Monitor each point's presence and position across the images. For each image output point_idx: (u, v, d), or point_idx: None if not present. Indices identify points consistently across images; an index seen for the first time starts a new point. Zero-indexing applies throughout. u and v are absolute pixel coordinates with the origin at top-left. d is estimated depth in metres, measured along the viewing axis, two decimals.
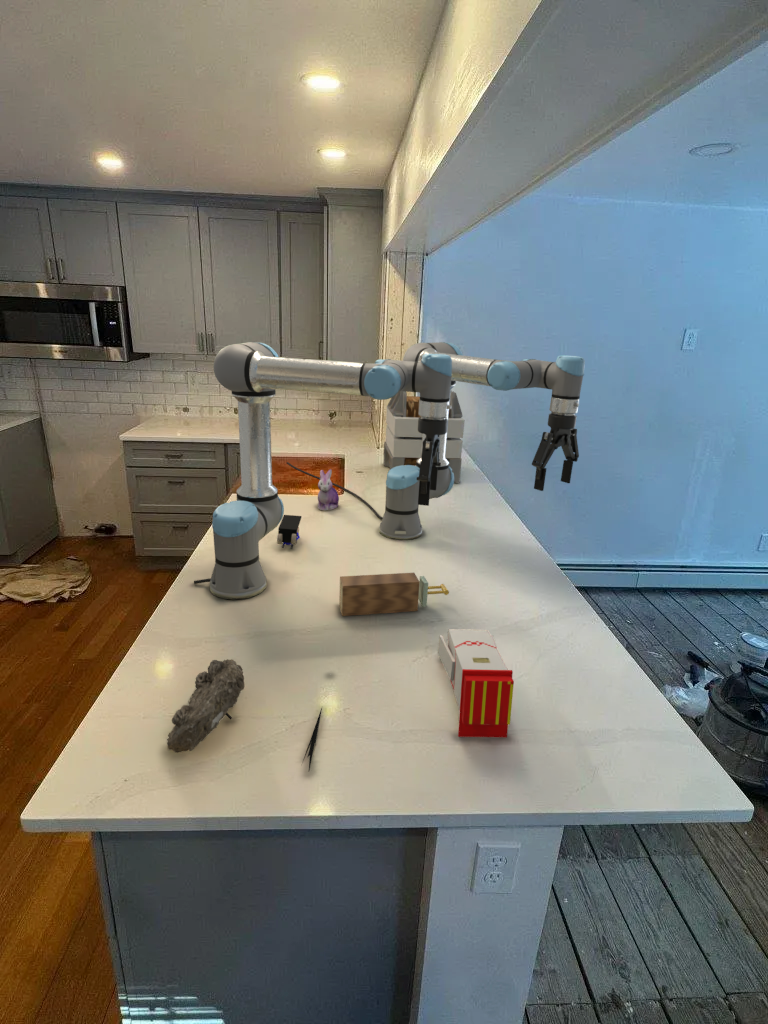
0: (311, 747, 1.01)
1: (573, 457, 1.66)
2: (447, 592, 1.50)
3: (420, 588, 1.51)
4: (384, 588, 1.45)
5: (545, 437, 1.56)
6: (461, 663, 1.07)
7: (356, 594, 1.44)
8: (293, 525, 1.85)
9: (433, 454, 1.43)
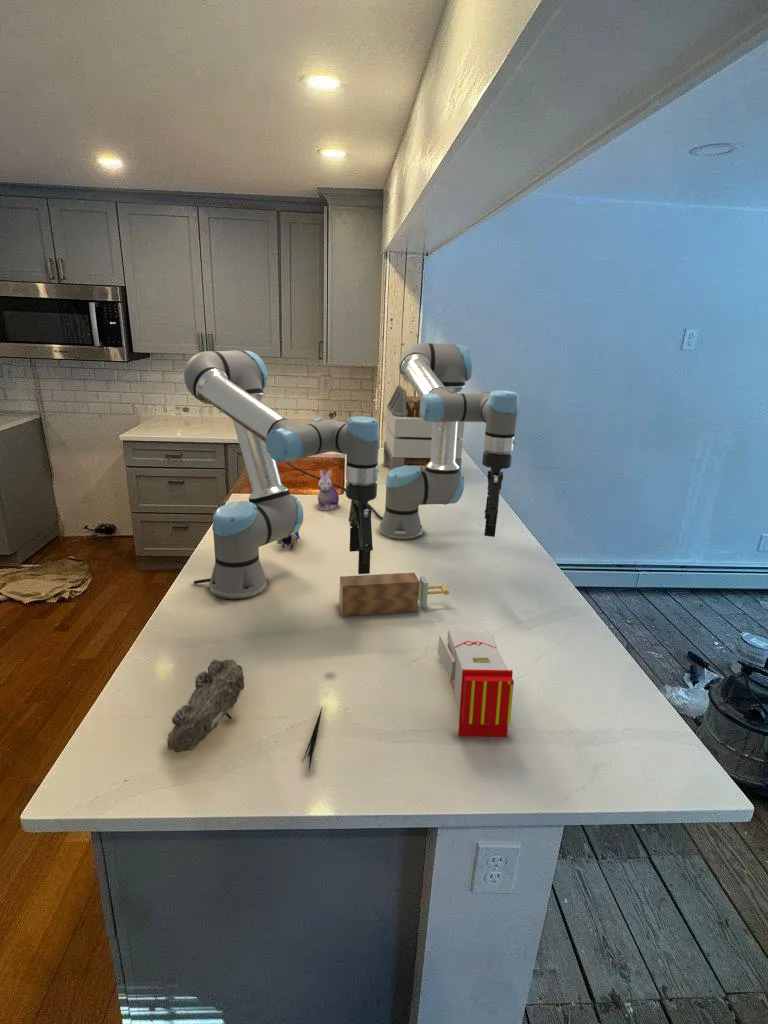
0: (311, 747, 1.01)
1: None
2: (447, 592, 1.50)
3: (420, 588, 1.51)
4: (384, 588, 1.45)
5: (495, 481, 1.44)
6: (461, 663, 1.07)
7: (356, 594, 1.44)
8: None
9: None
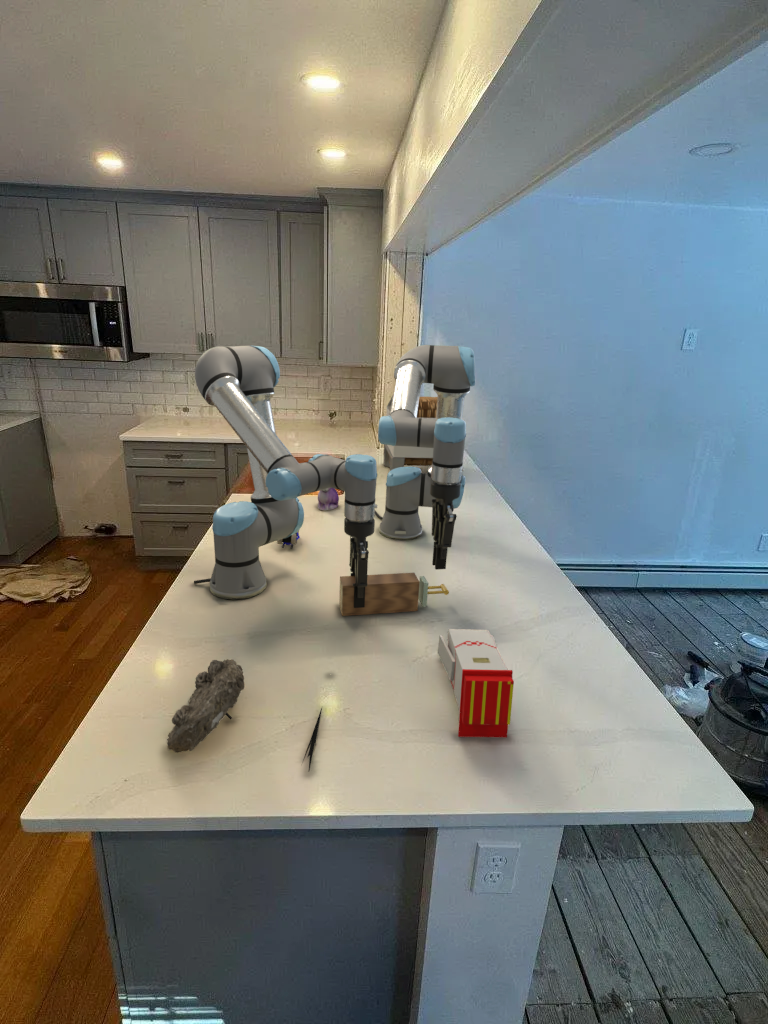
0: (311, 747, 1.01)
1: None
2: (447, 592, 1.50)
3: (420, 588, 1.51)
4: (384, 588, 1.45)
5: (450, 520, 1.39)
6: (461, 663, 1.07)
7: None
8: None
9: None
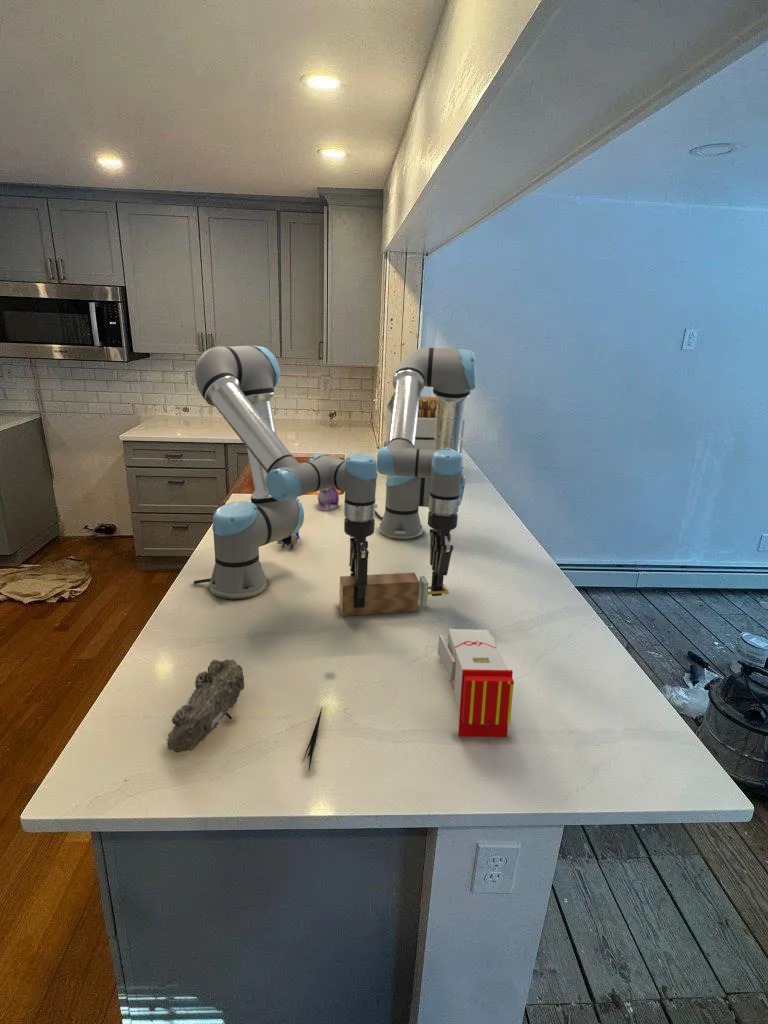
0: (311, 747, 1.01)
1: None
2: (447, 592, 1.50)
3: (420, 588, 1.51)
4: (384, 588, 1.45)
5: (447, 551, 1.42)
6: (461, 663, 1.07)
7: None
8: None
9: None
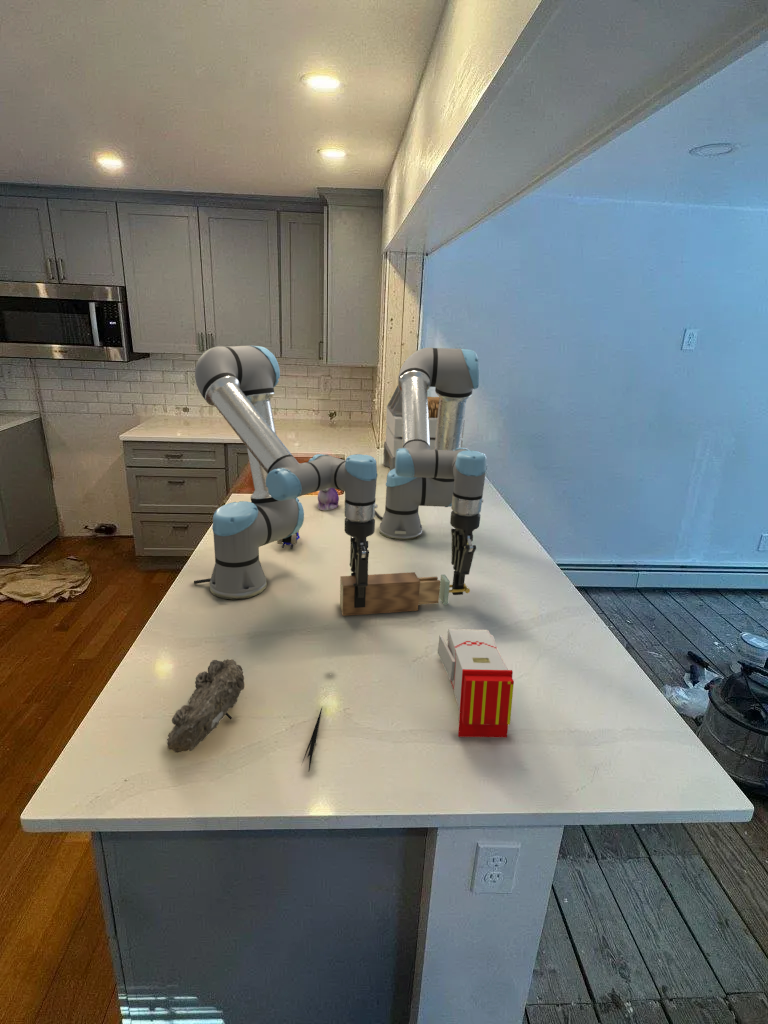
0: (311, 747, 1.01)
1: None
2: (468, 590, 1.52)
3: (441, 586, 1.52)
4: (384, 588, 1.45)
5: (469, 551, 1.43)
6: (461, 663, 1.07)
7: None
8: None
9: None
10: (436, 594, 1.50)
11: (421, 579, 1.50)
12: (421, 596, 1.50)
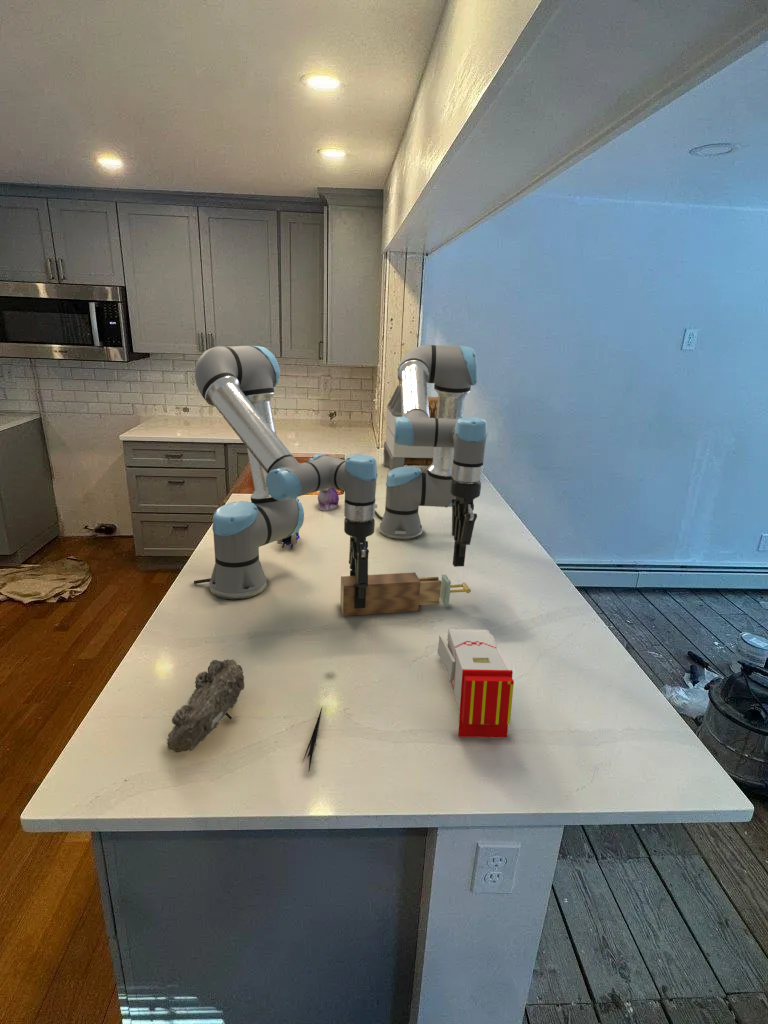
0: (311, 747, 1.01)
1: None
2: (469, 591, 1.52)
3: (442, 586, 1.52)
4: (385, 588, 1.45)
5: (470, 519, 1.40)
6: (461, 663, 1.07)
7: None
8: None
9: None
10: (437, 594, 1.50)
11: (422, 579, 1.50)
12: (422, 596, 1.50)
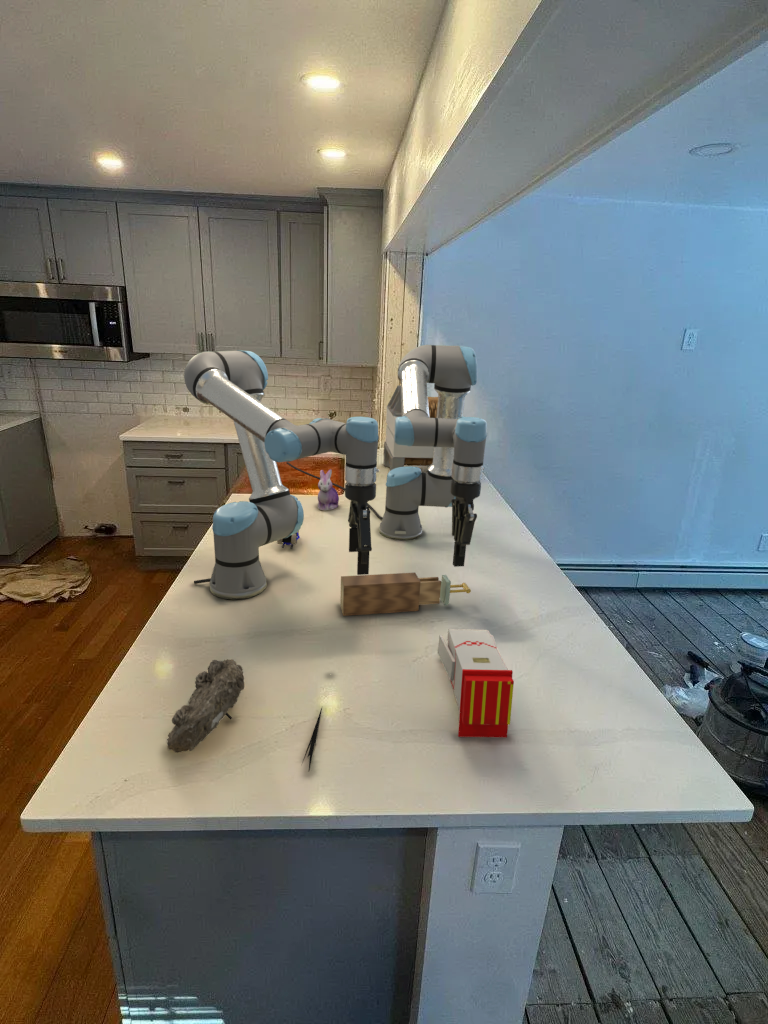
0: (311, 747, 1.01)
1: None
2: (469, 591, 1.52)
3: (442, 586, 1.52)
4: (385, 588, 1.45)
5: (470, 519, 1.40)
6: (461, 663, 1.07)
7: (357, 594, 1.44)
8: None
9: None
10: (437, 594, 1.50)
11: (422, 579, 1.50)
12: (422, 596, 1.50)
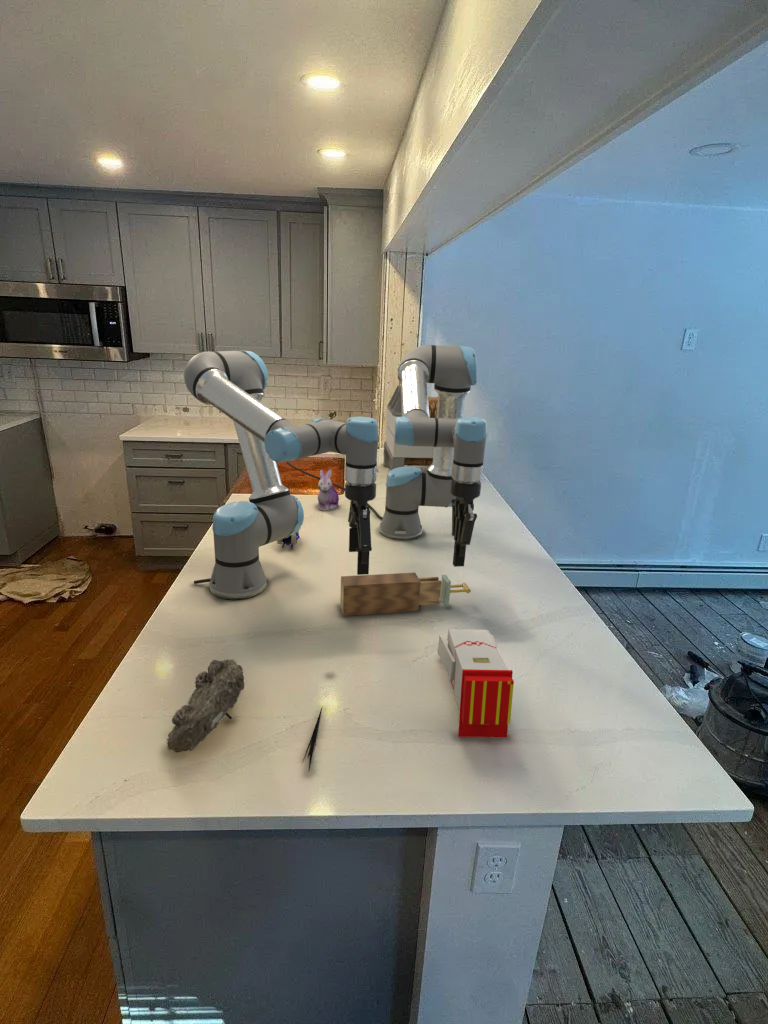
0: (311, 747, 1.01)
1: None
2: (469, 591, 1.52)
3: (442, 586, 1.52)
4: (385, 588, 1.45)
5: (470, 519, 1.40)
6: (461, 663, 1.07)
7: (357, 594, 1.44)
8: None
9: None
10: (437, 594, 1.50)
11: (422, 579, 1.50)
12: (422, 596, 1.50)
